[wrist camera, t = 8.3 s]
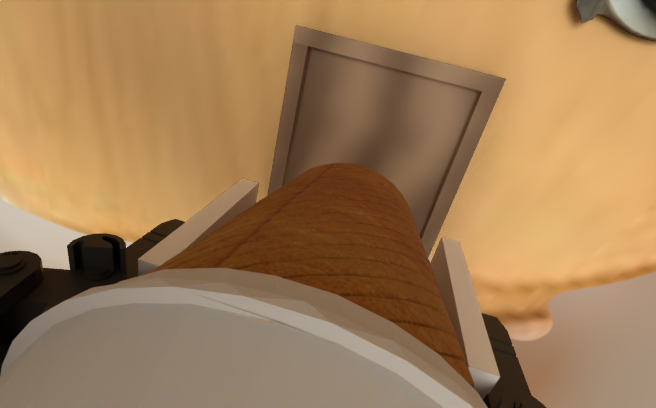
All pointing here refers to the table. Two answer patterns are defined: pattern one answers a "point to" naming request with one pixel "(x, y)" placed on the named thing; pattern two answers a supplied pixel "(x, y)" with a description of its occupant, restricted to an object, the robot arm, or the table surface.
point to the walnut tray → (382, 119)
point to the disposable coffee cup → (261, 316)
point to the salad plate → (623, 14)
